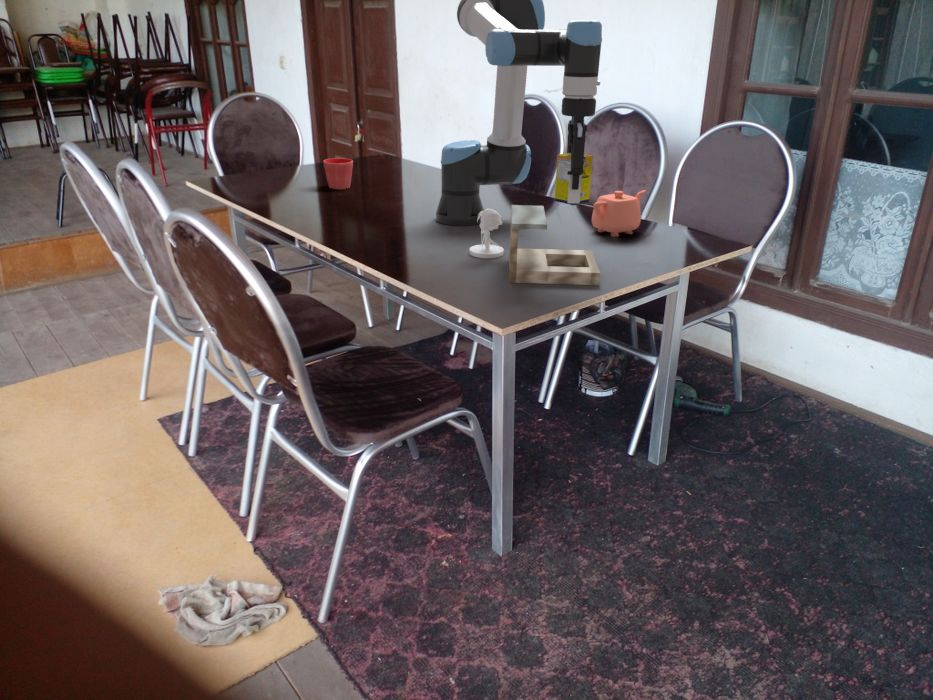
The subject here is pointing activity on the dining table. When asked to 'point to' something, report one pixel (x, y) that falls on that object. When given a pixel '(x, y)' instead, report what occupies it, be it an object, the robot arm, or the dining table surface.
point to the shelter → (546, 255)
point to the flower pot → (338, 172)
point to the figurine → (488, 235)
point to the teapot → (617, 213)
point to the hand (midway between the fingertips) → (571, 198)
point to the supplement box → (563, 178)
